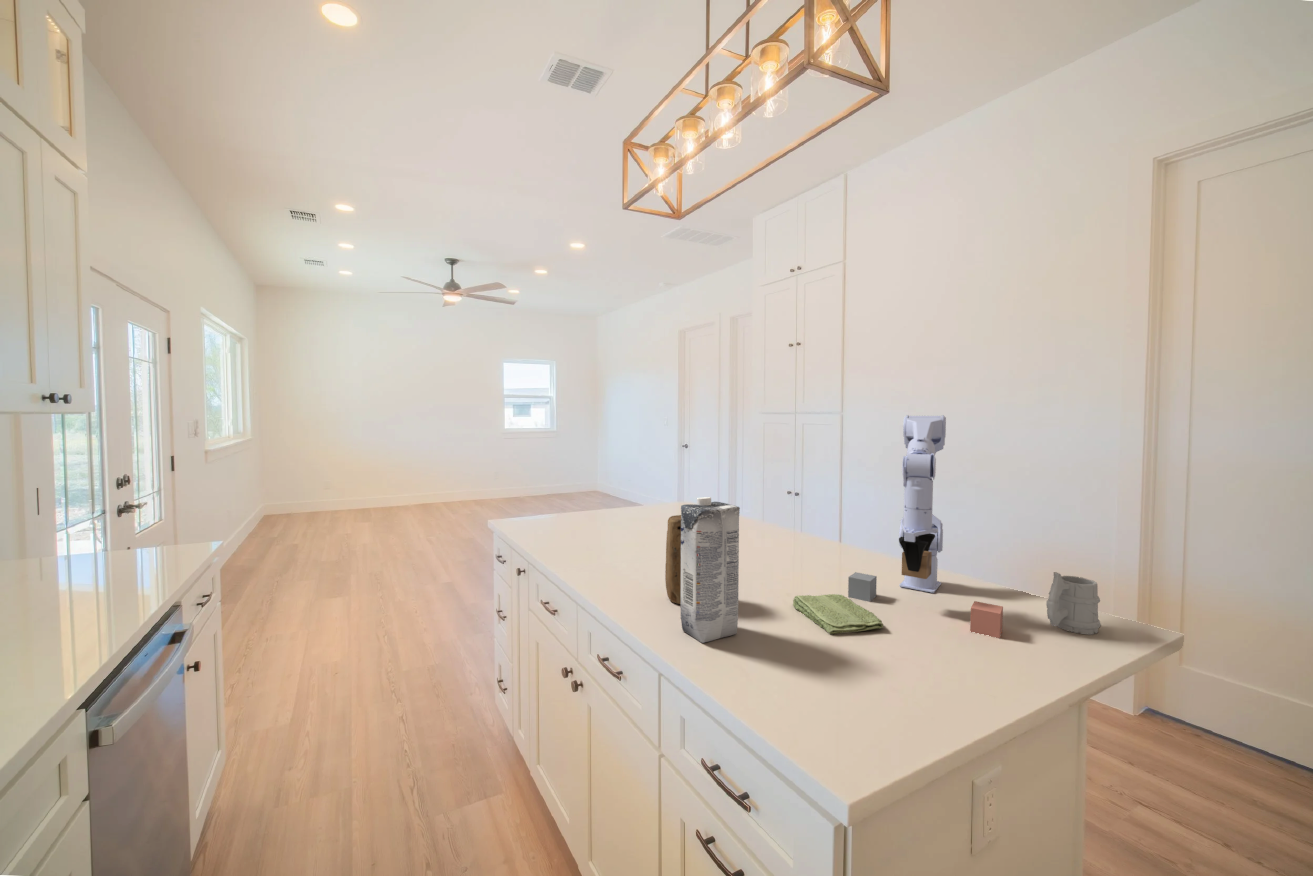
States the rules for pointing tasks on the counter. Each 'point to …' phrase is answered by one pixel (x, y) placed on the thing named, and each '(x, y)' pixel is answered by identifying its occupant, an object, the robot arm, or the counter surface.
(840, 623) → the washcloth
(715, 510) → the juice carton
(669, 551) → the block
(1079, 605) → the mug
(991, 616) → the brick red block
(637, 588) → the counter surface
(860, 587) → the slate grey block
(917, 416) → the robot arm
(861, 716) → the counter surface
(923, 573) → the walnut block
